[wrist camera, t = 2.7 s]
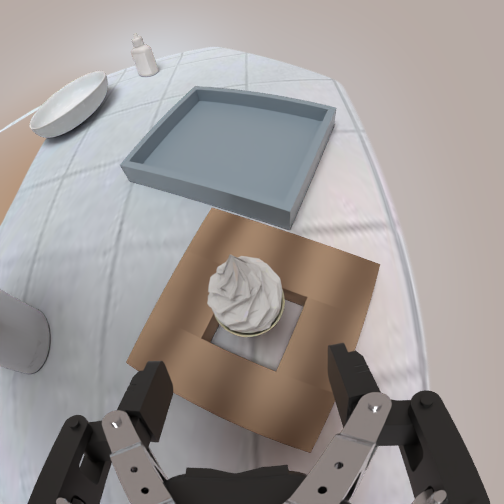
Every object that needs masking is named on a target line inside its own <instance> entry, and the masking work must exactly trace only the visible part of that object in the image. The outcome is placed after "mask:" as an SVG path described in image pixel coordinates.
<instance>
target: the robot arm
mask: <svg viewBox="0 0 504 504" xmlns="http://www.w3.org/2000/svg"><path fill="white" fill-rule="evenodd" d="M49 343H50V333H49V327H48V323H47V320H46V318H45V316H44V315H43V313H42V312H41V311H39V310H37V309H35V308H34V307H32V306H30V305H28V304H26V303H24V302H22V301H20V300H19V299H17V298H15V297H13V296H12V295H10V294H8V293H6V292H5V291H3V290H1V289H0V367H4V368H7V369H11V370H14V371H18V372H22V373H26V374H32V373H35V372H37V371H38V370H39V369H40V368H41V367H42V365H43V364H44V362H45V360H46V357H47V354H48V350H49ZM328 378H329V382H330V385H331V388H332V392H333V395H334V398H335V401H336V405H337V408H338V411H339V415H340V418H341V422H342V425H343V430H342V432H341V433H340V434H336V435H335V437H334V438H333V439H332V441H331V442H330V444H329V445H328V447H327V448H326V450H325V451H324V453H323V454H322V456H321V457H320V459H319V460H318V462H317V463H316V464H315V466H314V467H313V469H312V470H311V471H310V473H309V474H308V475H306V474H303V473H300V472H295V471H288V465H282V466H271V467H261V468H257V469H254V470H250V471H246V472H241V473H237V474H234V473H228V472H223V471H219V470H214V469H207V468H187V469H186V474H182V475H178V476H175V477H172V478H170V479H168V477H167V476H166V475H165V473H164V472H163V470H162V468H161V467H160V465H159V463H158V462H157V460H156V458H155V456H154V455H153V453H152V451H151V449H150V448H149V443H150V442H159V439H160V435H161V432H162V429H163V425H164V422H165V419H166V415H167V412H168V409H169V406H170V402H171V399H172V396H173V383H172V381H171V378H170V376H169V373H168V371H167V368H166V366H165V363H164V362H163V361H148V362H147V364H146V366H145V368H144V370H143V371H139V372H138V373H137V374H136V375H135V376H134V377H133V378H132V380H131V382H130V385H129V386H128V388H127V391H126V392H125V394H124V397H123V399H122V401H121V403H120V405H119V407H118V409H117V410H116V411H112V412H109V413H108V414H107V415H105V416H104V418H103V420H102V421H97V422H88V421H87V420H86V418H85V417H83V416H81V415H75V416H72V417H70V418H69V419H67V420H66V422H65V423H64V425H63V427H62V429H61V431H60V433H59V435H58V437H57V439H56V441H55V443H54V445H53V447H52V449H51V451H50V453H49V455H48V458H47V460H46V462H45V464H44V466H43V468H42V471H41V473H40V475H39V477H38V480H37V482H36V484H35V487H34V489H33V492H32V494H31V496H30V499H29V501H28V504H100V500H101V496H102V493H103V489H104V486H105V483H106V479H107V476H108V473H109V469H110V466H111V463H113V466H114V468H115V471H116V473H117V475H118V478H119V480H120V482H121V484H122V487H123V489H124V491H125V493H126V495H127V497H128V499H129V501H130V503H131V504H351V503H349V501H350V499H351V498H352V496H353V494H354V493H355V491H356V489H357V488H358V486H359V484H360V482H361V480H362V478H363V476H364V474H365V472H366V470H367V468H368V466H369V464H370V462H371V461H372V459H373V457H374V455H375V453H376V450H377V448H378V446H393V445H398V446H399V449H400V452H401V455H402V458H403V461H404V464H405V467H406V470H407V474H408V477H409V480H410V484H411V487H412V490H413V494H414V497H415V500H414V501H413V502H412V503H411V504H490V501H489V498H488V496H487V493H486V490H485V488H484V486H483V483H482V481H481V479H480V476H479V474H478V471H477V469H476V467H475V465H474V463H473V460H472V458H471V456H470V454H469V452H468V450H467V448H466V446H465V444H464V442H463V440H462V438H461V435H460V433H459V432H458V430H457V428H456V426H455V424H454V422H453V420H452V418H451V416H450V414H449V412H448V411H447V409H446V407H445V405H444V403H443V401H442V400H441V398H440V397H439V395H438V394H436V393H435V392H432V391H420V392H418V393H416V394H415V395H414V396H413V397H412V399H411V400H402V401H396V400H391V399H390V398H389V397H388V396H387V395H385V394H383V393H381V392H380V390H379V388H378V386H377V384H376V382H375V380H374V378H373V376H372V374H371V372H370V370H369V368H368V366H367V364H366V362H365V360H364V358H363V356H362V355H361V354H359V353H358V352H357V351H351V352H348V350H347V348H346V346H345V344H344V343H338V344H333V345H328ZM83 454H84V455H85V456H84V458H83V461H82V463H81V466H80V468H79V464H80V461H81V458H82V456H83Z"/></svg>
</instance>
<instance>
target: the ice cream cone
mask: <svg viewBox="0 0 504 504" xmlns="http://www.w3.org/2000/svg"><path fill="white" fill-rule="evenodd" d="M208 292H210V293H209V295H208V302H207V304H208V305H209V307H211V308H212V311H213V312H214V315H215V317H216V319H217V321H218V323H219V324H220V325H221V326H222V327H223V328H224V329H225V330H227V331H228V332H230V333H232V334H234V335H237V336H242V337H253V336H258V335H261V334H263V333H265V332H267V331H269V330H270V329H271V328H272V327H274V326H275V325H276V323H277V322H278V321H279V319H280V317H281V316H282V313H283V310H284V304H285V299H284V293H283V290H282V286H281V280H280V278H279V276H278V275H277V274H276V273H275V272H274V271H273V270H272V269H271V268H270V267H269V265H268V264H267V263H264V262H263V261H262V260H260V259H259V258H252V257H247V256H240V257H238V258H237V257H235V256H233V255H231V254H230V255H229V258H228V259H227V261H226V262H225V263H223V264H222V265H220V266H218V267H217V272H216V273H215V274H214V275H212V276H211V277H210V282H209V287H208Z"/></svg>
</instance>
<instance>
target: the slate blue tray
mask: <svg viewBox="0 0 504 504" xmlns="http://www.w3.org/2000/svg"><path fill="white" fill-rule="evenodd" d="M335 114H336V108H335V107H331V106H327V105H322V104H318V103H314V102H309V101H304V100H299V99H294V98H289V97H284V96H278V95H272V94H265V93H259V92H251V91H243V90H235V89H225V88H214V87H199V86H195V87H194V88H193V89H191V90H190V91H189V92H188V93H187V94H186V95H185V96H184V97H183V98H182V99H181V100H180V101H179V102H178V103H177V104H176V105H175V106H174V107H172V108H171V109H170V110H169V111H168V112H167V113H166V114H165V115H164V117H163V118H162V119H161V120H160V121H159V122H158V123H157V124H156V125H155V126H154V127H153V128H152V129H151V130H150V131H149V132H148V133H147V134H146V136H145V137H144V138H143V139H142V140H141V141H140V142H139V143H138V144H137V146H136V147H135V148H134V149H133V150H132V151H131V152H130V154H129V155H128V156H127V157H126V158H125V159H124V161H123V162H122V163H121V164H120V166H121V168H122V170H123V171H124V173H125V175H126V176H127V178H128V179H129V181H131V182H134V183H138V184H141V185H145V186H148V187H152V188H155V189H159V190H162V191H166V192H169V193H173V194H176V195H179V196H183V197H186V198H189V199H193V200H196V201H199V202H203V203H206V204H209V205H213V206H216V207H219V208H222V209H226V210H229V211H232V212H235V213H238V214H241V215H245V216H248V217H251V218H254V219H257V220H260V221H263V222H266V223H269V224H273V225H276V226H279V227H282V228H285V229H288V230H290V229H291V226H292V224H293V222H294V220H295V217H296V215H297V213H298V210H299V208H300V206H301V204H302V201H303V199H304V197H305V194H306V192H307V190H308V187H309V185H310V183H311V180H312V178H313V176H314V173H315V171H316V168H317V166H318V164H319V161H320V159H321V157H322V154H323V152H324V149H325V147H326V145H327V142H328V140H329V137H330V135H331V132H332V130H333V127H334V123H335Z"/></svg>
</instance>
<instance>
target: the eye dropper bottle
mask: <svg viewBox="0 0 504 504" xmlns="http://www.w3.org/2000/svg"><path fill="white" fill-rule="evenodd" d="M132 43H133V46H134V47H135V48H133V49H132V51H131V54H132V57H133V60H134V62H135V65H136V68H137V70H138V73H139V75H140V76H143V77H148V76H153V75H154V74H156V73H157V72H158V67H157V64H156V61H155V58H154V55H153V53H152V50H151V47H149V46H148V45H145V44H144V42H143V39H142V37H139V36H138V35H137V34H134V39H133V40H132Z"/></svg>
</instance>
